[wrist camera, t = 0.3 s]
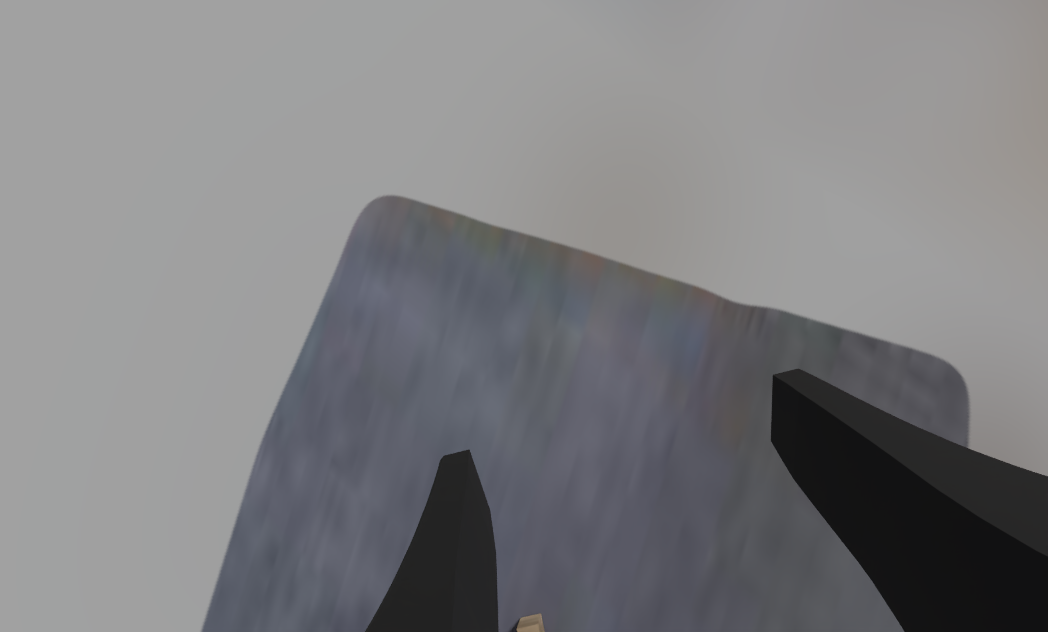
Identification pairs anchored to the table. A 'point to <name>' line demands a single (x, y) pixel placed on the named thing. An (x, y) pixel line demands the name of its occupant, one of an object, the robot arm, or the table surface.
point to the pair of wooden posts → (531, 624)
